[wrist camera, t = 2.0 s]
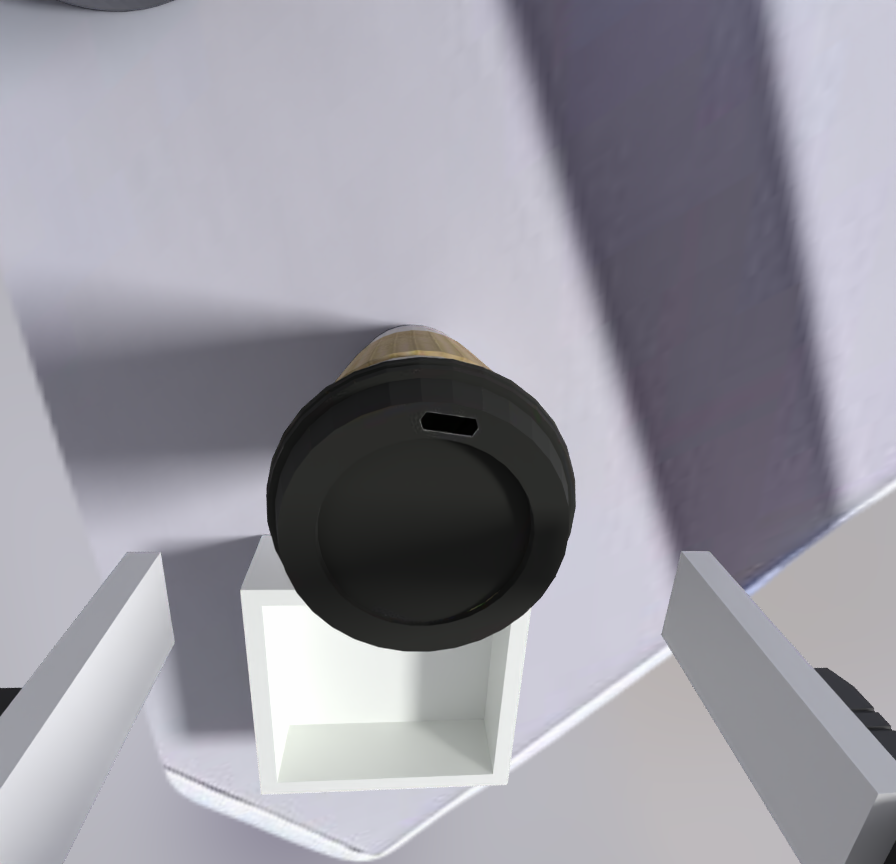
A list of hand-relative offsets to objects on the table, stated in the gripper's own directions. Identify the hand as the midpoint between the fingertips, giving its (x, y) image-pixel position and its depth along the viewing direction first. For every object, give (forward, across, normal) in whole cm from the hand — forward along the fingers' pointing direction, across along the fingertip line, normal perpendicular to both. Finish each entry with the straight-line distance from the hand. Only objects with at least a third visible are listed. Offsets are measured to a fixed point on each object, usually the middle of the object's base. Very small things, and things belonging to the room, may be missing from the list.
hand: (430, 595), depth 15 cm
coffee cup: (+17, 0, 0) cm, 17 cm away
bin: (+17, -1, -17) cm, 24 cm away
